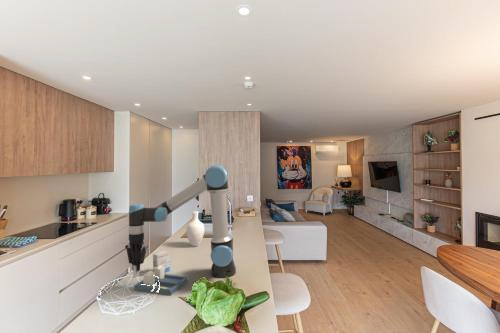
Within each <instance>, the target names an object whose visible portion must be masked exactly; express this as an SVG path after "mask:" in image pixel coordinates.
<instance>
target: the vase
mask: <svg viewBox="0 0 500 333" xmlns="http://www.w3.org/2000/svg"><path fill="white" fill-rule="evenodd" d="M191 214H192V220H191V221H190V222H188V223H187V225H186V230H185V231H186V232H185V233H186V236H187V239H188V242H189V243H190V245H191V246H192V247H198V246H200V245H201V242H202V240H203V237H204V235H205V225H204V223H203V222H202V221H200V219H199V211H197V210H195V211H194V210H193V211H192V212H191Z"/></svg>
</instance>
